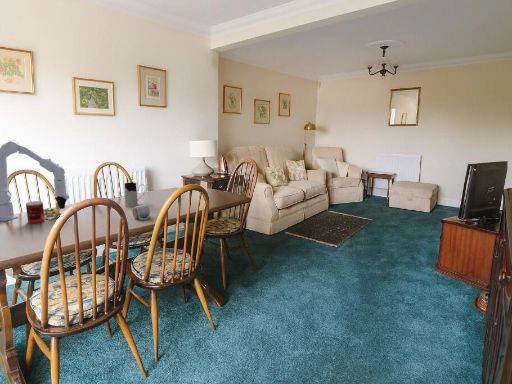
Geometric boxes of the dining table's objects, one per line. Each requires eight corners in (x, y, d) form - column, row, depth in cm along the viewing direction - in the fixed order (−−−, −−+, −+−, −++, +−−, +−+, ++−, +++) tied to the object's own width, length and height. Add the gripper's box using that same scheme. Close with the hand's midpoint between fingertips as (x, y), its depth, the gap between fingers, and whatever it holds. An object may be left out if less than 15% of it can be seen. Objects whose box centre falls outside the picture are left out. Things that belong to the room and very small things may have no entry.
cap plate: (29, 217, 183) (28, 211, 182) (48, 211, 196) (48, 205, 196) (50, 220, 181) (49, 213, 180) (69, 213, 194) (68, 207, 193)
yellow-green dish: (50, 216, 183) (49, 207, 182) (35, 214, 184) (34, 206, 183) (66, 210, 195) (66, 202, 194) (52, 209, 197) (51, 201, 196)
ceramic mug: (131, 217, 192) (131, 204, 190) (144, 214, 197) (144, 202, 196) (139, 221, 184) (138, 209, 183) (152, 219, 190) (152, 206, 188)
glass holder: (122, 204, 220) (121, 182, 217) (143, 201, 228) (143, 181, 225) (126, 207, 213) (125, 185, 210) (147, 204, 221) (147, 183, 218)
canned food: (40, 219, 182) (38, 200, 179) (47, 221, 178) (45, 202, 175) (25, 222, 175) (22, 202, 173) (32, 225, 171) (30, 205, 169)
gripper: (73, 187, 190) (75, 209, 193) (61, 184, 197) (62, 205, 200) (61, 189, 184) (63, 211, 187) (48, 185, 192) (50, 207, 194)
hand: (62, 208), depth 193 cm, fingers closed
